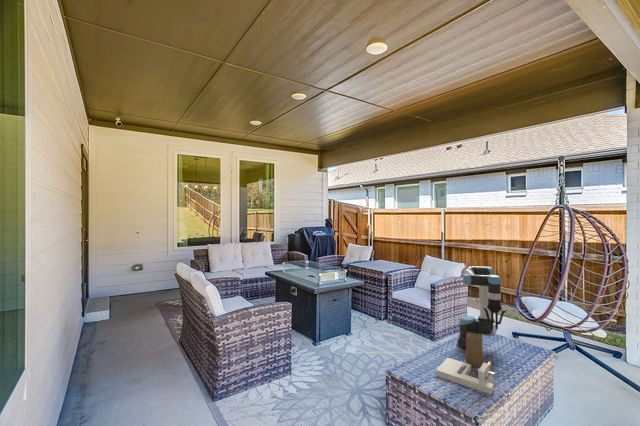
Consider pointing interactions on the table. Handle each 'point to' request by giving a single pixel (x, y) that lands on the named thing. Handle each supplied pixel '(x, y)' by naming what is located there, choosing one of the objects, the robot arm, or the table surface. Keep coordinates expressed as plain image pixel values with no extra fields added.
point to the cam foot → (489, 373)
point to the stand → (465, 375)
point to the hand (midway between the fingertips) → (494, 333)
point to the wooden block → (474, 349)
